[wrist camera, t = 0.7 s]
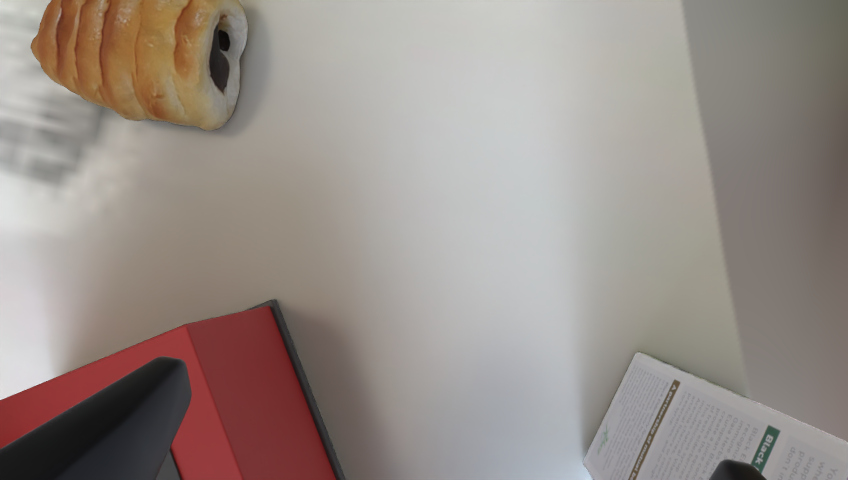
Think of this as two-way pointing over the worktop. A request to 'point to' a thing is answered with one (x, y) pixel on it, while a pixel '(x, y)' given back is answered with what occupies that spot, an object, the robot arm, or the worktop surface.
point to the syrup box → (702, 432)
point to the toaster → (211, 401)
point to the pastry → (147, 56)
